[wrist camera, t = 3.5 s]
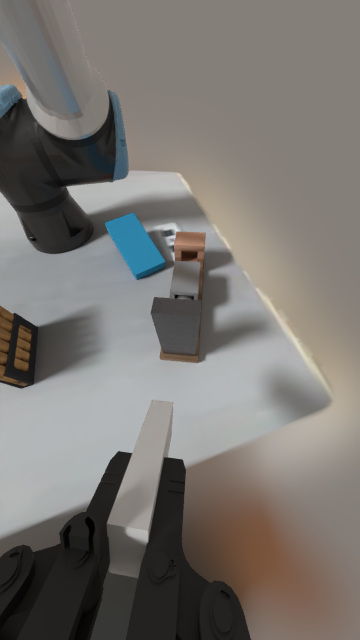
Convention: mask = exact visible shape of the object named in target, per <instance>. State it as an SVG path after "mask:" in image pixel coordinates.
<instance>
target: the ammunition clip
mask: <svg viewBox="0 0 360 640" xmlns="http://www.w3.org/2000/svg"><path fill="white" fill-rule="evenodd" d="M37 333H38V327H36V326H35V325H33V324H32V323H30V322H29V321H27V320H25V319H24V318H22V317H21V316H19V315H18V314H16V313H14V315H13V314H12V313H10V312H9V311H7V310H6V309H4V308H3V307H1V306H0V382H1V383H4V384H7V385H11V386H14V387H17V388H24V387H27V386H30V385H33V384H34V371H35V358H36V345H37Z"/></svg>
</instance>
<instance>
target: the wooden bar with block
mask: <svg viewBox="0 0 360 640" xmlns="http://www.w3.org/2000/svg"><path fill="white" fill-rule="evenodd" d="M205 234H206V233H199V232H176V238H175V243H174V250H175V266H174V271H173V277H172V283H171V289H170V298H173V299H177V296H178V295H191V296H192V300H201V303H202V285H203V267H204V249H205ZM200 321H201V317H200ZM199 338H200V325H199V332H198V340H197V347H196V355H195V356H186V355H175V354H165V353H163V352H162V348H161V352H160V359H161V360H171V361H181V362H192V363H198V356H199Z"/></svg>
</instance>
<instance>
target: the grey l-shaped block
mask: <svg viewBox="0 0 360 640" xmlns="http://www.w3.org/2000/svg"><path fill="white" fill-rule="evenodd" d="M151 315H152V319H153V322H154V325H155V329H156V332H157V335H158V338H159V342H160V345H161V348H162V352H163V353H165V354H175V355H186V356H195V355H196V347H197V340H198V332H199V325H200V317H201V300H192V296H191V295H178V296H177V299H173V298H158V297H154V301H153V305H152V310H151Z"/></svg>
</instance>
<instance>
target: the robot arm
mask: <svg viewBox="0 0 360 640" xmlns="http://www.w3.org/2000/svg"><path fill="white" fill-rule="evenodd" d="M0 42H1V44H2V45H3V47H4V48H5V50H6V52H7V53H8V55H9V57H10V58H11V60H12V62H13V63H14V65H15V66H16V68H17V70H18V71H19V73H20V75H21V76H22V78H23V80H24V81H25V83H26V99H23V98H22V94H21V93H20V92H19V91H18V90H17V88H16V87H15V86H14V85H12V84H9V85H4V86H0V192H1V193H2V194H3V195H4V197H5V198H6V199H7V201H8V202H9V203H10V204H11V206H12V207H13V208H14V209H15V211H16V212H17V214H18V217H19V219H20V222H21V224H22V226H23V229H24V231H25V234H26V236H27V238H28V240H29V241H30V242H31V244H32V245H33V246H34V247H35V248H36V249H37V250H39V251H41V252H44V253H61V252H66V251H69V250H72V249H74V248H76V247H78V246H80V245H82V244H83V243H84V242H86V241H87V240H88V239H89V238H90V236H91V235H92V233H93V225H92V223H91V221H90V219H89V217H88V215H87V214H86V213H85V212H84V211H83V210H82V208H81V207H80V206H79V205H78V204H77V203H76V201H75V200H74V199H73V198H72V197H71V195H70V194H69V192H68V190H67V188H66V186H74V185H84V184H94V183H103V182H113V181H115V180H120V179H124V178H126V177H127V175H128V172H129V163H128V153H127V146H126V139H125V130H124V124H123V117H122V111H121V106H120V102H119V99H118V96H117V95H116V93H115V92H111V91H110V90H107V88H106V86H105V83H104V81H103V79H102V77H101V75H100V74H99V73H98V71H97V70H96V69H95V68H94V67H93V66H92V65H91V64H90V63H88V60H87V57H86V54H85V51H84V48H83V44H82V41H81V38H80V34H79V31H78V28H77V24H76V21H75V18H74V15H73V12H72V8H71V5H70V2H69V0H0ZM172 416H173V402H165V401H156V400H152V402H151V404H150V407H149V410H148V412H147V415H146V418H145V421H144V423H143V426H142V429H141V432H140V434H139V437H138V440H137V442H136V445H135V448H134V451H133V453H127V452H120V451H118V452H117V453H116V455H115V456H114V457H113V458H112V459H111V460H110V462H109V464H108V466H107V468H106V471H105V473H104V475H103V477H102V479H101V482H100V483H99V485H98V487H97V490H96V492H95V494H94V496H93V498H92V500H91V502H90V504H89V506H88V509H87V511H86V512H82V513H79V514H77V515H75V516H73V518H71V519H70V520H69V521H68V522H67V523H66V524H65V525H64V527H63V529H62V530H61V531H60V533H59V534H60V540H61V544H58V545H56V546H53V547H50V548H46V549H43V550H39V551H36V552H33V551H32V550H31V548H30V547H29V546H26V545H21V546H17V547H14V548H12V549H11V550H9V551H8V552H6V553H5V554H3V556H1V557H0V640H90V638H91V635H92V631H93V628H94V625H95V621H96V618H97V614H98V611H99V608H100V604H101V601H102V595H103V590H104V588H103V584H104V580H105V577H106V574H107V571H108V567H109V570H110V573H115V574H121V575H126V576H131V577H136V578H138V582H137V587H136V592H135V597H134V602H133V607H132V612H131V617H130V622H129V627H128V632H127V637H126V640H251V639H250V635H249V631H248V627H247V624H246V620H245V616H244V612H243V610H242V607H241V604H240V602H239V599H238V597H237V596H236V594H235V593H234V591H233V590H232V589H231V587H229V586H228V585H227V584H225V583H224V582H221V581H213V582H212V583H210V582H208V581H207V580H206V579H204V578H203V577H202V576H200V575H199V574H198V573H196V572H195V571H194V570H193V569H192V568H191V567H190V565H189V563H188V562H187V560H186V558H185V556H184V553H183V548H182V522H183V507H184V506H183V504H184V490H185V474H186V469H185V466H184V463H183V460H182V459H175V458H168V453H169V447H170V441H171V435H172Z"/></svg>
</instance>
